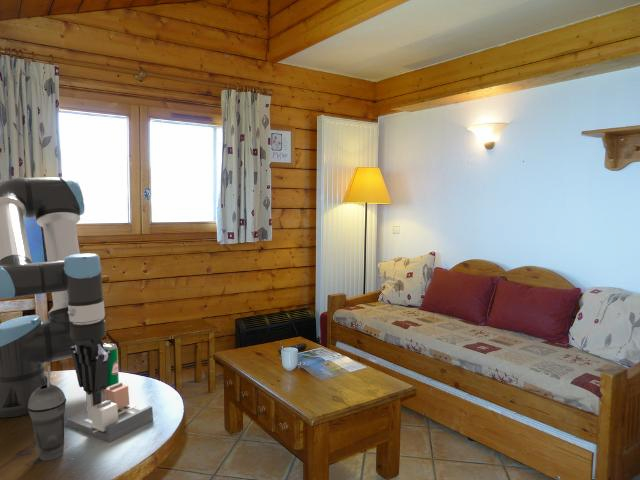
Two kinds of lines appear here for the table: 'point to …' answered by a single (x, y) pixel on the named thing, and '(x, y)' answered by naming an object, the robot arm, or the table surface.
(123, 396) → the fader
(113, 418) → the block
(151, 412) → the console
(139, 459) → the table surface
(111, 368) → the soda can
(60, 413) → the beverage cup
